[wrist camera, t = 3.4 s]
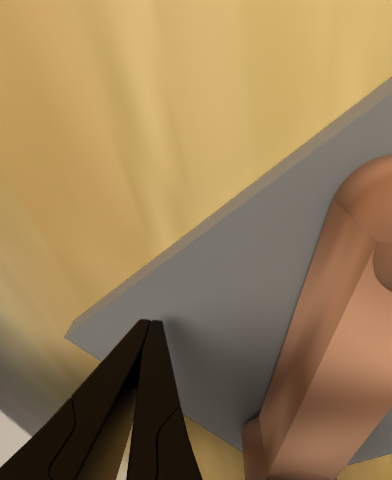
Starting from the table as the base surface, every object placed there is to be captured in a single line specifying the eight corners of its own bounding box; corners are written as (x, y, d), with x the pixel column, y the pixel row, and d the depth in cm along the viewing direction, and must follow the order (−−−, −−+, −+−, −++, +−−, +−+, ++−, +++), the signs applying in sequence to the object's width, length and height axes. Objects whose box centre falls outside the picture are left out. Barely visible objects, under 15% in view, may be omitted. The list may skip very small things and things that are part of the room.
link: (308, 454, 16) (336, 558, 13) (236, 449, 16) (243, 550, 13) (484, 159, 7) (743, 226, 4) (324, 147, 7) (431, 203, 4)
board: (283, 463, 20) (287, 481, 19) (73, 320, 13) (63, 337, 12) (623, 364, 13) (653, 384, 12) (541, -38, 6) (594, -59, 5)
